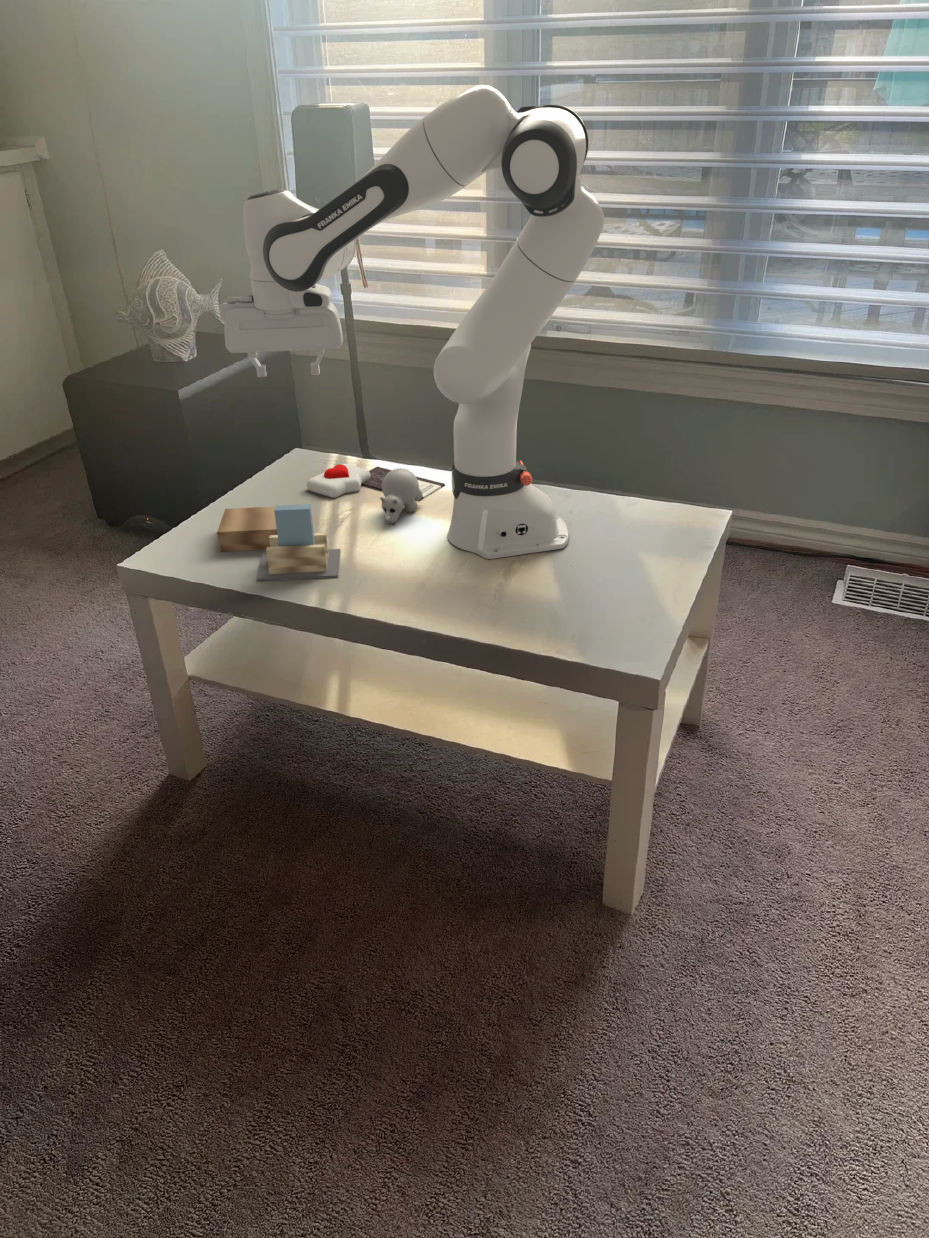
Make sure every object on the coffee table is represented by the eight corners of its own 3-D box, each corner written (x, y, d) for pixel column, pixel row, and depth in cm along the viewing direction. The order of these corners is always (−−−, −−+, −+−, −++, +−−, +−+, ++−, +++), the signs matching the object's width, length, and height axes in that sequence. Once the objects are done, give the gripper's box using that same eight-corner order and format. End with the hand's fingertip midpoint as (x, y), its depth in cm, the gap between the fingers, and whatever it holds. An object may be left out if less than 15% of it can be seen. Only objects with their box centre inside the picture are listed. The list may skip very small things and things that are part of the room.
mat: (340, 550, 168) (340, 548, 168) (337, 577, 159) (337, 575, 159) (263, 554, 167) (263, 552, 167) (256, 581, 159) (256, 579, 158)
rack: (328, 555, 166) (326, 531, 164) (326, 573, 161) (324, 548, 158) (273, 558, 166) (269, 534, 163) (269, 576, 160) (265, 551, 157)
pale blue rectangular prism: (316, 555, 163) (310, 504, 158) (315, 560, 162) (309, 508, 156) (282, 556, 163) (275, 505, 158) (281, 562, 161) (274, 510, 156)
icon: (338, 483, 184) (302, 472, 189) (340, 503, 186) (304, 492, 191) (378, 464, 192) (342, 454, 197) (379, 483, 195) (344, 473, 200)
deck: (291, 524, 177) (288, 505, 175) (286, 548, 169) (283, 528, 167) (228, 527, 177) (225, 508, 175) (220, 551, 168) (217, 532, 166)
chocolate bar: (377, 466, 200) (444, 483, 192) (377, 470, 201) (445, 488, 192) (350, 480, 194) (419, 499, 185) (351, 484, 195) (419, 503, 186)
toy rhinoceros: (374, 532, 180) (363, 502, 173) (396, 489, 186) (386, 458, 180) (407, 537, 177) (397, 507, 171) (428, 493, 184) (420, 462, 177)
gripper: (214, 301, 153) (227, 383, 160) (337, 296, 154) (345, 377, 161) (220, 292, 158) (232, 372, 165) (339, 288, 159) (346, 367, 166)
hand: (289, 375), depth 163 cm, fingers open, 8 cm apart
